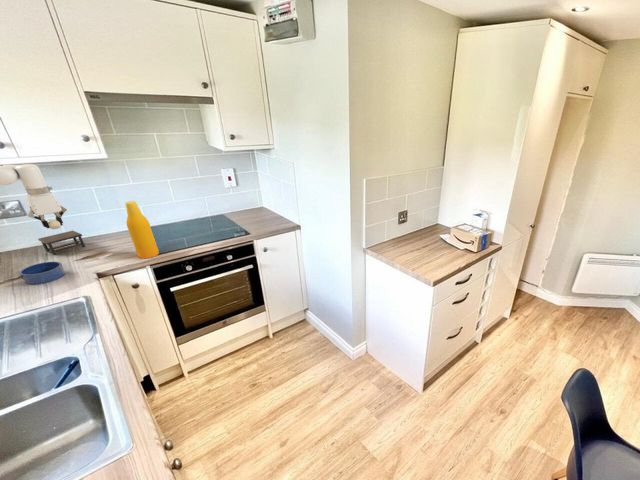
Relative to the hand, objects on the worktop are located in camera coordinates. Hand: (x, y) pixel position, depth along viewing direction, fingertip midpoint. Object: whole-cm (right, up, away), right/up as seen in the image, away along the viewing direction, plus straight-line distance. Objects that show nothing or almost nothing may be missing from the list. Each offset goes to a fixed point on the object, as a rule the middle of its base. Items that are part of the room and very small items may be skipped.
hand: (54, 226), depth 164 cm
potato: (0, -1, 0) cm, 1 cm away
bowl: (+14, -26, -16) cm, 34 cm away
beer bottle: (+43, -15, +8) cm, 46 cm away
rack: (0, -13, +7) cm, 15 cm away
